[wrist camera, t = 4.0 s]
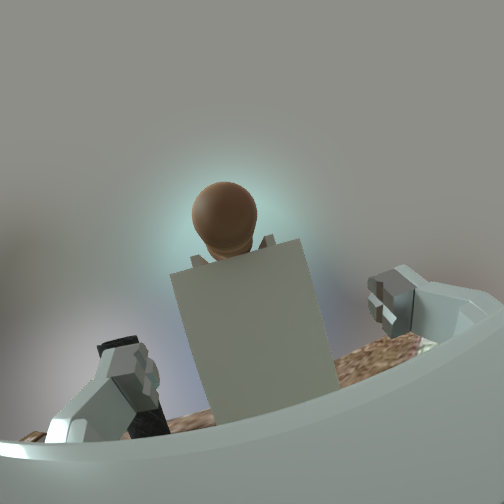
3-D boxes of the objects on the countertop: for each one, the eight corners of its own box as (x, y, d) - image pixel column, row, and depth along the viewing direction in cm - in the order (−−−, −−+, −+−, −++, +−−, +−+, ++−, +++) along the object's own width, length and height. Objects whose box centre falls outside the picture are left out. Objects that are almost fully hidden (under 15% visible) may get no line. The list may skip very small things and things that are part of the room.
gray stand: (358, 473, 25) (296, 227, 28) (250, 506, 24) (166, 263, 27) (322, 421, 41) (275, 249, 44) (246, 443, 40) (192, 272, 43)
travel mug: (182, 438, 46) (145, 333, 48) (148, 457, 40) (105, 345, 42) (159, 431, 51) (125, 336, 53) (128, 447, 44) (89, 346, 47)
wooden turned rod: (274, 228, 19) (250, 152, 19) (190, 252, 18) (171, 173, 19) (255, 261, 40) (244, 223, 41) (216, 272, 40) (206, 233, 41)
